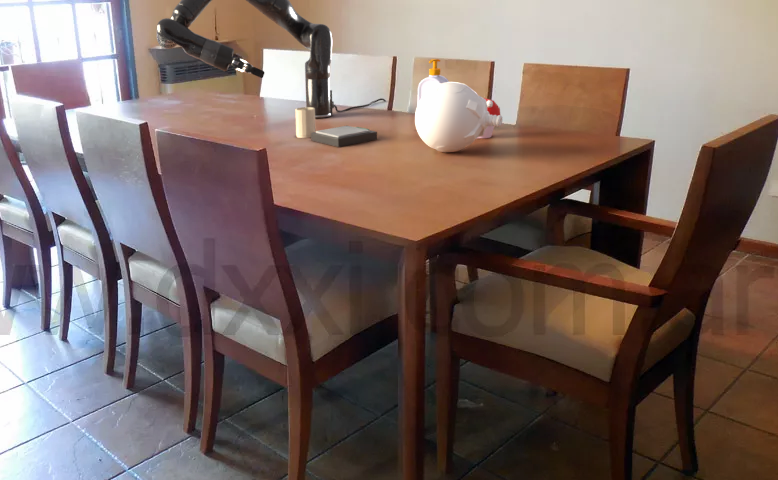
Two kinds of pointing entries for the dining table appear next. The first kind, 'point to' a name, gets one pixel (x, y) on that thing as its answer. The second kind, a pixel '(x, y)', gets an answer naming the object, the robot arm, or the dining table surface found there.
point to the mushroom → (492, 110)
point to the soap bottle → (430, 80)
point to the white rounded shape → (452, 117)
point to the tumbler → (305, 122)
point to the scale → (343, 136)
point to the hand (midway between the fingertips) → (263, 75)
